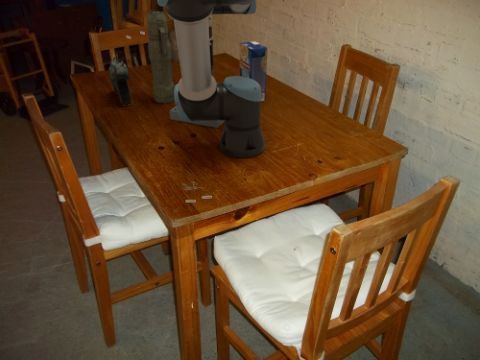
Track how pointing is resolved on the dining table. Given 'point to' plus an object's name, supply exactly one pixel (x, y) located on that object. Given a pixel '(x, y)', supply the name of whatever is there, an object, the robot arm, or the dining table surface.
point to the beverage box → (254, 63)
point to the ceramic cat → (120, 80)
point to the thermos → (160, 57)
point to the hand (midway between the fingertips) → (204, 89)
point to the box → (205, 123)
